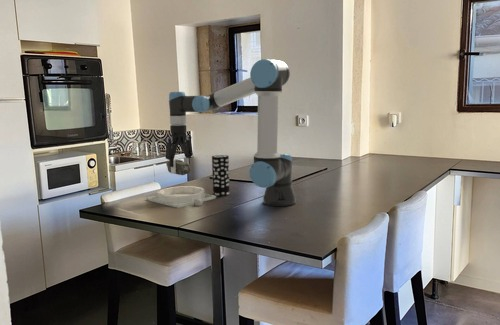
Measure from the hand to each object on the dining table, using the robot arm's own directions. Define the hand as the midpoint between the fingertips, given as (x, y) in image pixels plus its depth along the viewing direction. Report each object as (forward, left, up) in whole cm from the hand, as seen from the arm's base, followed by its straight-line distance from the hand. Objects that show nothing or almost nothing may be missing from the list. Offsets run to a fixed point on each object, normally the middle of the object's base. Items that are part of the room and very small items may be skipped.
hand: (180, 172), depth 220 cm
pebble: (-15, +3, -13) cm, 20 cm away
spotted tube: (-8, -19, -14) cm, 25 cm away
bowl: (0, 0, -13) cm, 13 cm away
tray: (0, 0, -14) cm, 14 cm away
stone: (+1, 0, -1) cm, 1 cm away
